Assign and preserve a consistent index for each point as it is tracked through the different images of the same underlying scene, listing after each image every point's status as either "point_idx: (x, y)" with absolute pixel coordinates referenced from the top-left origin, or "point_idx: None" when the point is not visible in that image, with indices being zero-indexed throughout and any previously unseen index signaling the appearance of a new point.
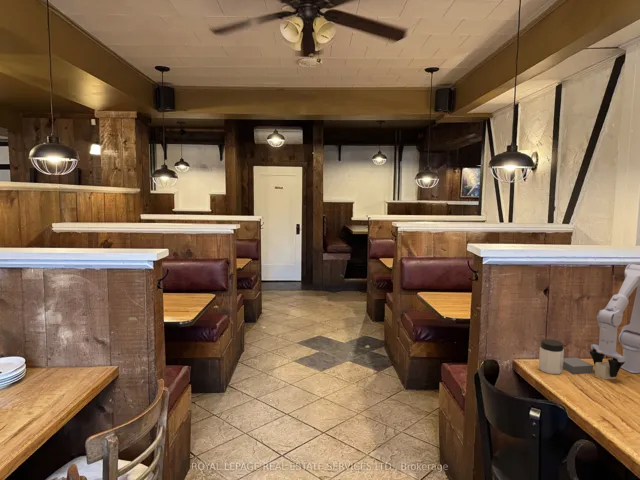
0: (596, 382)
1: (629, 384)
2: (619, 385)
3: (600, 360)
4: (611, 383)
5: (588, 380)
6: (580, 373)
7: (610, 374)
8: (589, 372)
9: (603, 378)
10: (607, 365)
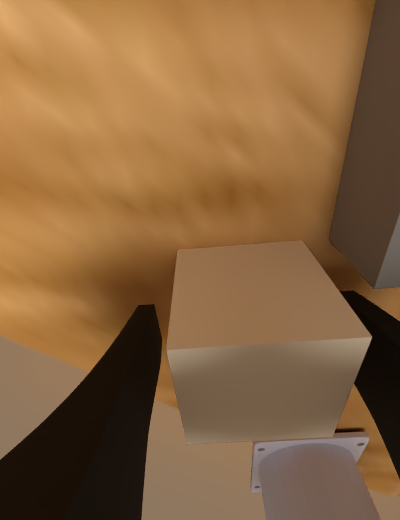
0: (77, 95)
1: (89, 352)
2: (50, 284)
3: (387, 413)
4: (82, 248)
5: (132, 10)
6: (365, 66)
7: (138, 317)
8: (340, 205)
9: (189, 249)
10: (230, 398)
